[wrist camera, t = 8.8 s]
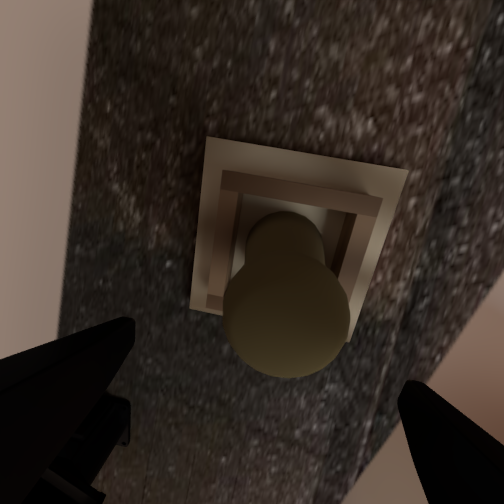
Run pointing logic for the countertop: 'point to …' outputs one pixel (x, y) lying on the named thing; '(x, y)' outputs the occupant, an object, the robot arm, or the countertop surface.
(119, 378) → the countertop surface
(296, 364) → the cork
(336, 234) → the socket board
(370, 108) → the countertop surface
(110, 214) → the countertop surface
